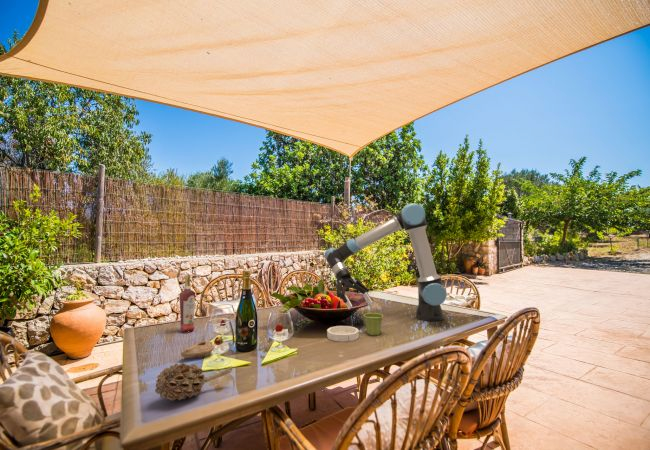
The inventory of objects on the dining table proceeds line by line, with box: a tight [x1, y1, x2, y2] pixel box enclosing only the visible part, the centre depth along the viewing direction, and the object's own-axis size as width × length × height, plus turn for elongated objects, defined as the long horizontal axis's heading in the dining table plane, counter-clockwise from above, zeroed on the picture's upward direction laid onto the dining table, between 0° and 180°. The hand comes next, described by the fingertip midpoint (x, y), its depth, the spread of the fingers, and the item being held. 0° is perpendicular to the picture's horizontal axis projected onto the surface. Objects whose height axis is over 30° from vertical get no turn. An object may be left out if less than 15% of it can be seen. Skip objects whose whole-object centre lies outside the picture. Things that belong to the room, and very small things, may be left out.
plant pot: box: [363, 312, 384, 336], centre depth 151 cm, size 9×9×9 cm
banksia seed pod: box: [154, 362, 235, 402], centre depth 93 cm, size 22×10×10 cm, turn 129°
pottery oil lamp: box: [180, 340, 215, 359], centre depth 123 cm, size 9×12×7 cm
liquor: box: [179, 274, 196, 333], centre depth 158 cm, size 7×7×28 cm
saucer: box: [326, 325, 360, 343], centre depth 146 cm, size 14×14×3 cm
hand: (361, 305), depth 157 cm, fingers open, 13 cm apart
